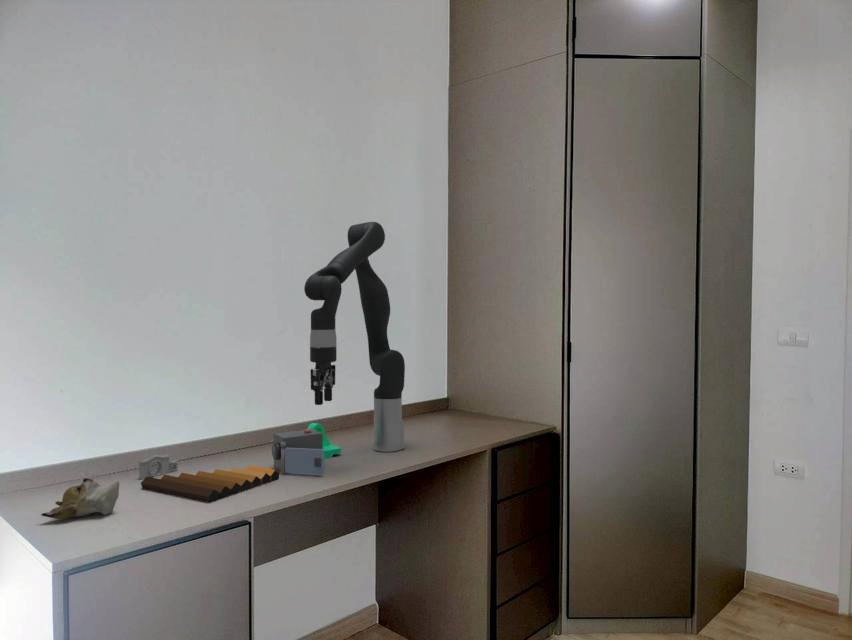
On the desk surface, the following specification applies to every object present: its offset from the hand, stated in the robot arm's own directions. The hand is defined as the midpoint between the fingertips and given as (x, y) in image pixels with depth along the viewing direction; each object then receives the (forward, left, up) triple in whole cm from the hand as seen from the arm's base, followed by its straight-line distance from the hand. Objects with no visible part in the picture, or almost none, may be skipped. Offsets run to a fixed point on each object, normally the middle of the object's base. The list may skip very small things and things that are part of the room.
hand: (323, 402), depth 183 cm
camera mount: (-6, -17, -20) cm, 27 cm away
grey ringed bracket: (+41, -22, -20) cm, 50 cm away
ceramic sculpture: (+62, +6, -20) cm, 65 cm away
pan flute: (+30, -4, -21) cm, 37 cm away
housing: (+5, -7, -20) cm, 22 cm away
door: (+7, +1, -19) cm, 21 cm away
